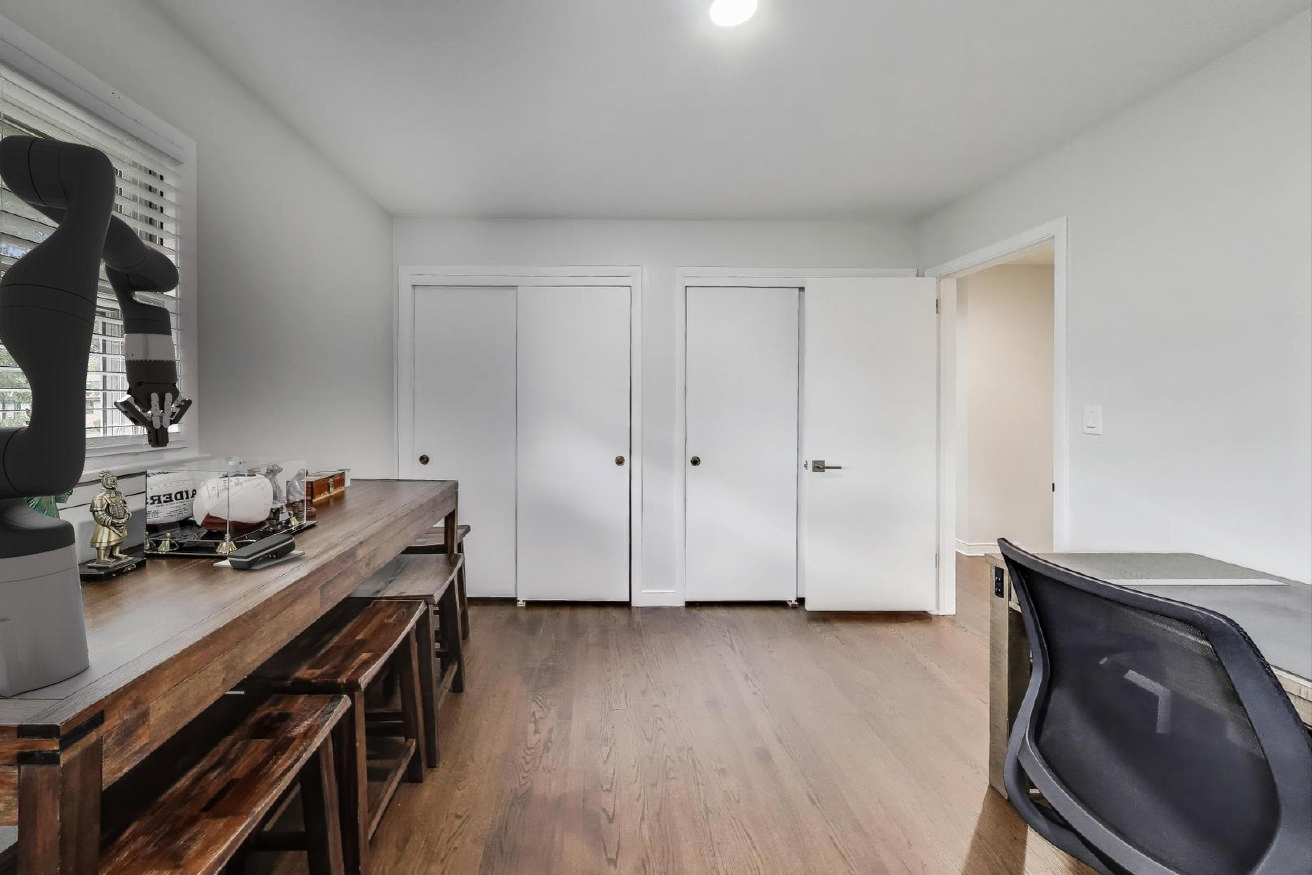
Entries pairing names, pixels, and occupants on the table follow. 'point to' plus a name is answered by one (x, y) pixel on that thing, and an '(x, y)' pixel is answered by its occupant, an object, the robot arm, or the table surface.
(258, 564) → the mat
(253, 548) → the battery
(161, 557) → the table surface
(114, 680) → the table surface
